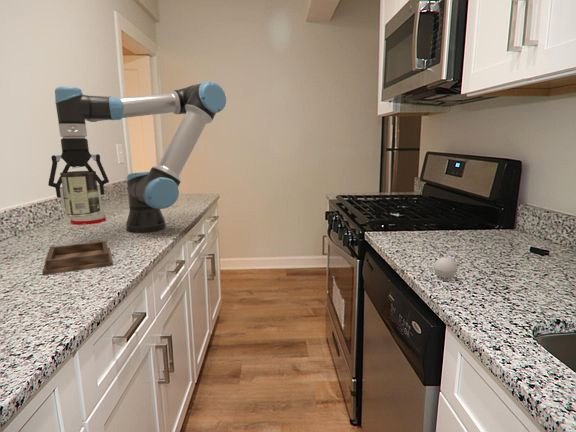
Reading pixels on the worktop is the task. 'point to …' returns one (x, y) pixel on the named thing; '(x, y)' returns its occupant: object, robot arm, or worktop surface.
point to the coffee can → (80, 193)
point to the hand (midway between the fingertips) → (82, 205)
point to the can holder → (77, 257)
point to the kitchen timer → (89, 218)
